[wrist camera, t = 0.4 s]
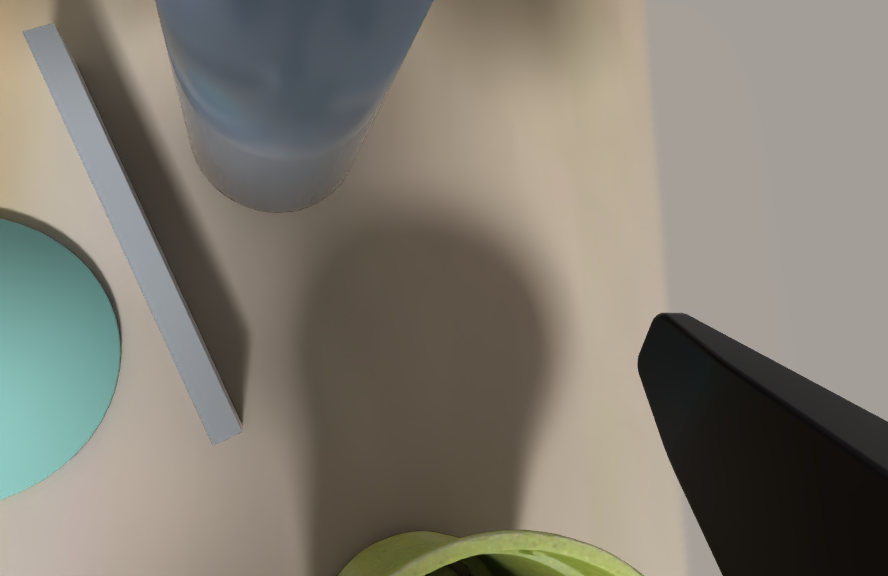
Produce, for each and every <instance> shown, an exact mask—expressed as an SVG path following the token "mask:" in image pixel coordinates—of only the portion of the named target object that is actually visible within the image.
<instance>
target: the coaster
mask: <svg viewBox="0 0 888 576" xmlns="http://www.w3.org/2000/svg"><path fill="white" fill-rule="evenodd" d="M120 358H121V347H120V334H119V329H118V325H117V320H116V316H115V313H114V311H113V308H112V305H111V303H110V300H109V298H108V296H107V295H106V293H105V291H104V289H103V287H102V286H101V284H100V283H99V281H98V280H97V279H96V277H95V276H94V275H93V273H92V272H91V270H90V269H89V268H88V267H87V266H86V265H85V264H84V263H83V262H82V261H81V260H80V259H79V258H78V257H77V256H76V255H74V254H73V253H72V252H70V251H69V250H68V249H67V248H65V247H64V246H63V245H61V244H60V243H58V242H57V241H55V240H53V239H52V238H50V237H48V236H47V235H45V234H43V233H41V232H39V231H37V230H34V229H32V228H30V227H27V226H25V225H22V224H19V223H16V222H12V221H9V220H6V219H1V218H0V500H1V499H4V498H6V497H9V496H11V495H14V494H16V493H19V492H21V491H23V490H25V489H27V488H29V487H31V486H33V485H34V484H36V483H38V482H40V481H42V480H44V479H45V478H47V477H48V476H49V475H51V474H52V473H54V472H55V471H57V470H58V469H60V468H61V467H62V466H63V465H64V464H65V463H67V462H68V461H69V460H70V459H71V458H72V457H73V456H75V455H76V454H77V453H78V451H79V450H80V449H81V448H82V447H83V446H84V445H85V444H86V442H87V441H88V440H89V439H90V438H91V436H92V435H93V433H94V432H95V430H96V429H97V427H98V426H99V425H100V423H101V421H102V419H103V417H104V415H105V414H106V412H107V410H108V408H109V406H110V403H111V400H112V397H113V395H114V392H115V389H116V385H117V380H118V376H119V371H120Z"/></svg>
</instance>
